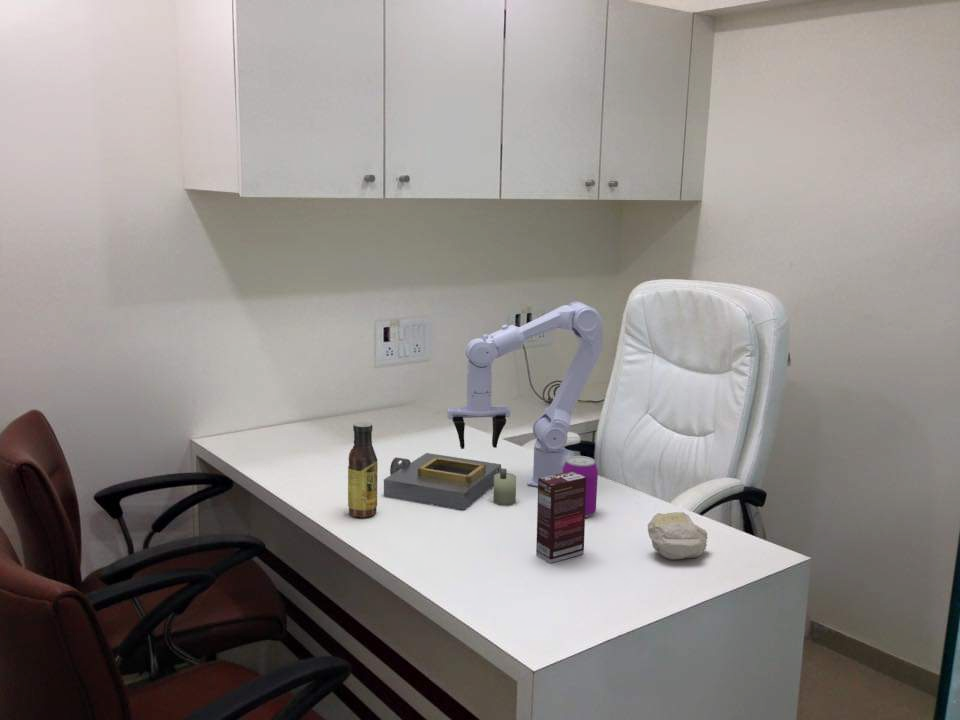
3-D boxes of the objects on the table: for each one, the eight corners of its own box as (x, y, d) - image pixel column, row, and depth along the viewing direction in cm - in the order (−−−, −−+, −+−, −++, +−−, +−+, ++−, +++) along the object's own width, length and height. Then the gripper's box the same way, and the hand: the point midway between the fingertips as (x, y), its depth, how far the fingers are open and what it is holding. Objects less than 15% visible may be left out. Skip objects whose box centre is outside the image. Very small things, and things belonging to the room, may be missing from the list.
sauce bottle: (371, 520, 183) (371, 429, 179) (343, 517, 185) (342, 427, 181) (381, 509, 190) (381, 421, 186) (354, 506, 191) (353, 419, 187)
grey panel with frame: (500, 480, 210) (501, 458, 209) (464, 510, 190) (464, 486, 189) (415, 466, 219) (415, 445, 217) (372, 494, 199) (372, 471, 198)
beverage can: (598, 508, 193) (600, 456, 191) (593, 520, 186) (595, 467, 183) (564, 504, 195) (566, 453, 193) (557, 516, 188) (559, 463, 185)
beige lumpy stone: (717, 557, 170) (675, 545, 177) (719, 515, 169) (677, 505, 176) (680, 569, 162) (638, 556, 169) (683, 525, 161) (639, 514, 168)
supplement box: (568, 545, 173) (572, 469, 170) (584, 554, 169) (588, 476, 166) (534, 555, 168) (536, 477, 165) (549, 564, 164) (552, 484, 161)
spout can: (518, 499, 197) (519, 466, 196) (510, 507, 193) (511, 472, 191) (498, 496, 199) (499, 463, 198) (490, 503, 195) (490, 469, 193)
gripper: (506, 386, 206) (505, 440, 209) (445, 387, 203) (445, 443, 206) (512, 393, 199) (511, 449, 202) (450, 394, 197) (449, 452, 199)
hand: (478, 447), depth 204 cm, fingers open, 7 cm apart
